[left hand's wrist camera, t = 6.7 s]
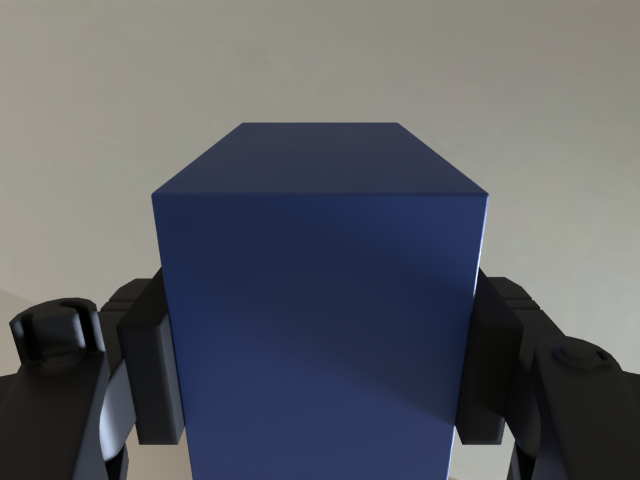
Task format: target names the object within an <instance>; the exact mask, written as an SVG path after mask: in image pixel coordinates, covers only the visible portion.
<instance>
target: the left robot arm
mask: <svg viewBox="0 0 640 480" xmlns="http://www.w3.org/2000/svg"><path fill="white" fill-rule="evenodd" d="M9 325H10V328H11V331H12V334H13V338H14V341H15V344H16V348H17V351H18V354H19V357H20V361H21V366H20V368H19V370H18V372H17V373H15V374H11V375H6V376H1V377H0V480H126V478H127V471H128V463H129V459H128V452H127V447H126V443H125V441H126V439H127V437H128V435H129V433H130V431H131V429H132V427H133V425H134V424H135V425H136V430H137V435H138V440H139V444H140V445H178V443H179V440H180V438H181V435H182V432H183V430H184V427H185V423H184V416H183V409H182V402H181V395H180V389H179V382H178V375H177V368H176V361H175V354H174V348H173V341H172V334H171V327H170V320H169V313H168V307H167V300H166V293H165V286H164V279H163V273H162V267H161V268H160V269H159V270H158V272H157V273H156V274H155V276H154V277H153V278H152V279H134V280H132V281H131V282H129V283H127V284H126V285H124V286H122V287H120V288H119V289H118V290H117V291H116V292H115V293H114V294H113V296H112V297H111V298H110V299H109V302H106V303H105V305H104V306H103V307H102V308H101V311H100V312H97V307H96V304H95V303H93V302H92V301H90V300H88V299H83V298H62V299H57V300H52V301H47V302H44V303H41V304H38V305H35V306H33V307H30V308H28V309H27V310H25V311H23V312H21V313H19V314H18V315H16V316H15V317H14V318H13V319H12V320H11V321H10V322H9ZM505 422H506V423H507V425H508V427H509V428H510V430H511V432H512V434H513V436H514V438H515V443H514V447H513V452H512V457H511V461H510V466H509V471H508V475H507V480H640V374H635V373H629V372H625V371H622V369H621V367H620V365H619V363H618V362H617V361H616V360H615V359H614V358H613V356H612V355H611V354H609V353H608V352H606V351H605V350H603V349H602V348H600V347H599V346H597V345H594V344H592V343H590V342H587V341H585V340H582V339H577V338H573V337H569V336H565V335H564V334H563V332H562V331H561V330H560V329H559V328H558V327H557V326H556V325H555V323H554V322H553V321H552V320H551V319H550V318H549V317H548V316H547V315H546V313H545V312H544V311H543V310H540V307H539V306H538V304H537V303H536V302H535V301H534V300H532V298H531V297H530V296H529V294H528V293H527V292H526V291H525V290H524V289H523V288H522V287H521V286H519V285H518V284H516V283H514V282H512V281H511V280H509V279H507V278H505V277H486V275H485V274H484V273H483V271H482V270H481V269H480V267H479V269H478V275H477V282H476V289H475V296H474V303H473V309H472V316H471V323H470V330H469V337H468V343H467V350H466V357H465V364H464V371H463V377H462V384H461V391H460V398H459V405H458V412H457V418H456V425H455V426H456V429H457V432H458V434H459V437H460V440H461V442H462V445H501V442H502V437H503V432H504V427H505Z"/></svg>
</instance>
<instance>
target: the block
mask: <svg viewBox="0 0 640 480" xmlns="http://www.w3.org/2000/svg"><path fill="white" fill-rule="evenodd" d="M151 197H152V204H153V211H154V218H155V225H156V231H157V238H158V245H159V252H160V259H161V266H162V273H163V279H164V286H165V293H166V300H167V307H168V313H169V320H170V327H171V334H172V341H173V348H174V354H175V361H176V368H177V375H178V382H179V389H180V395H181V402H182V409H183V416H184V423H185V430H186V437H187V444H188V450H189V457H190V464H191V471H192V478H193V480H448V473H449V466H450V460H451V453H452V446H453V439H454V432H455V425H456V418H457V412H458V405H459V398H460V391H461V384H462V377H463V371H464V364H465V357H466V350H467V343H468V337H469V330H470V323H471V316H472V309H473V303H474V296H475V289H476V282H477V275H478V269H479V262H480V255H481V248H482V241H483V234H484V228H485V221H486V214H487V207H488V200H489V194H488V193H487V192H486V191H485V190H483V189H482V188H481V187H479V186H478V185H477V184H476V183H474V182H473V181H472V180H470V179H469V178H468V177H467V176H465V175H464V174H463V173H461V172H460V171H459V170H458V169H456V168H455V167H454V166H453V165H451V164H450V163H449V162H447V161H446V160H445V159H444V158H442V157H441V156H440V155H438V154H437V153H436V152H435V151H433V150H432V149H431V148H429V147H428V146H427V145H426V144H424V143H423V142H422V141H420V140H419V139H418V138H417V137H415V136H414V135H413V134H412V133H410V132H409V131H408V130H406V129H405V128H404V127H403V126H401V125H400V124H399V123H242V124H240V125H239V126H238V127H236V128H235V129H234V130H233V131H231V132H230V133H229V134H227V135H226V136H225V137H224V138H222V139H221V140H220V141H219V142H217V143H216V144H215V145H213V146H212V147H211V148H210V149H208V150H207V151H206V152H204V153H203V154H202V155H201V156H199V157H198V158H197V159H196V160H194V161H193V162H192V163H190V164H189V165H188V166H187V167H185V168H184V169H183V170H181V171H180V172H179V173H178V174H176V175H175V176H174V177H173V178H171V179H170V180H169V181H167V182H166V183H165V184H164V185H162V186H161V187H160V188H158V189H157V190H156V191H155V192H153V193H152V195H151Z"/></svg>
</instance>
